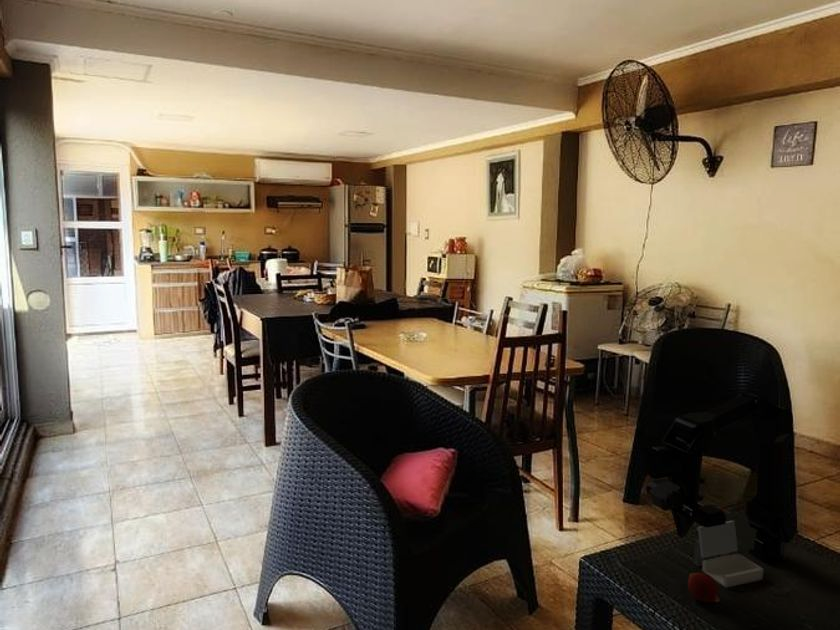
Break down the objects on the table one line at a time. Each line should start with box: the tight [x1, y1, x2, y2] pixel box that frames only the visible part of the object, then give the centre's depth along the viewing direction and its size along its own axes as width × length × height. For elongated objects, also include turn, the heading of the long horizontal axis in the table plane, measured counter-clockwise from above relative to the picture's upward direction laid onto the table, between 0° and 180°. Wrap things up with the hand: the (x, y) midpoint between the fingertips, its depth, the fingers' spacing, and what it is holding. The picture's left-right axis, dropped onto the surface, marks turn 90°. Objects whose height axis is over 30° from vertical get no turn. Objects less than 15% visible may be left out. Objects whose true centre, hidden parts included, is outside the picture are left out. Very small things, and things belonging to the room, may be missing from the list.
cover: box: [695, 520, 739, 559], centre depth 147 cm, size 11×7×1 cm
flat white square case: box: [692, 539, 765, 588], centre depth 144 cm, size 11×10×6 cm
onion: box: [687, 572, 721, 603], centre depth 133 cm, size 6×6×8 cm
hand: (681, 536), depth 139 cm, fingers closed
